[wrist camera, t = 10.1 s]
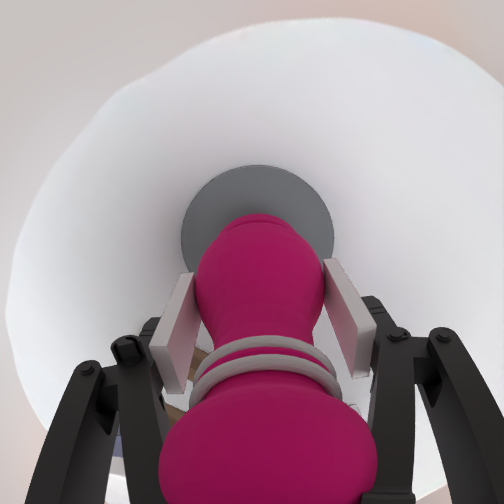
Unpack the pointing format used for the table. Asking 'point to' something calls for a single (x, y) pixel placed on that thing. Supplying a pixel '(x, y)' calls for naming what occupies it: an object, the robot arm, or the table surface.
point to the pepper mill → (265, 384)
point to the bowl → (117, 477)
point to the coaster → (255, 209)
